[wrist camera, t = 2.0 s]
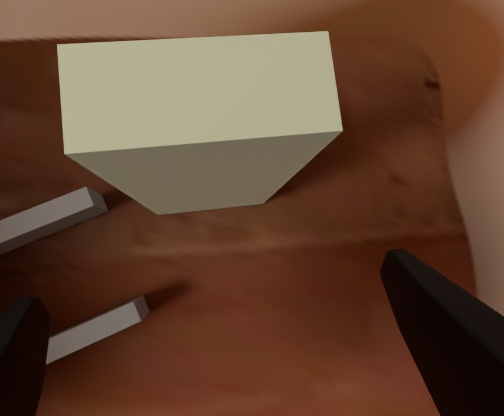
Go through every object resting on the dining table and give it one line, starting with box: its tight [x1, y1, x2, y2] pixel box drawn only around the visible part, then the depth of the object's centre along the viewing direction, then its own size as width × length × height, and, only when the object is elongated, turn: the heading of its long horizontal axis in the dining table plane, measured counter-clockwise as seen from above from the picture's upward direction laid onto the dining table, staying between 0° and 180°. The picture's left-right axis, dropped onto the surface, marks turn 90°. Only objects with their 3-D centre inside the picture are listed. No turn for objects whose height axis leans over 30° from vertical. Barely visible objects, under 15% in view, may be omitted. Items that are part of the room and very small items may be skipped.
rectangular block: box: [57, 31, 343, 215], centre depth 14 cm, size 2×6×13 cm, turn 97°
